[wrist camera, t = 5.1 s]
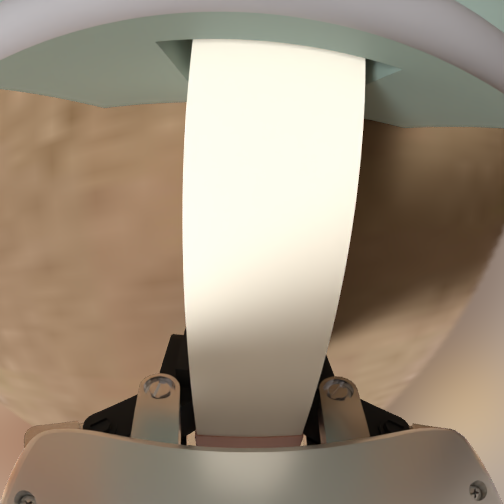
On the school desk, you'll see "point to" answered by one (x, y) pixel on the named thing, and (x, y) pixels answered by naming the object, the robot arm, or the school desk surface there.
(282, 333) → the pink-banded cream bar
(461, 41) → the block
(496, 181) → the school desk surface
